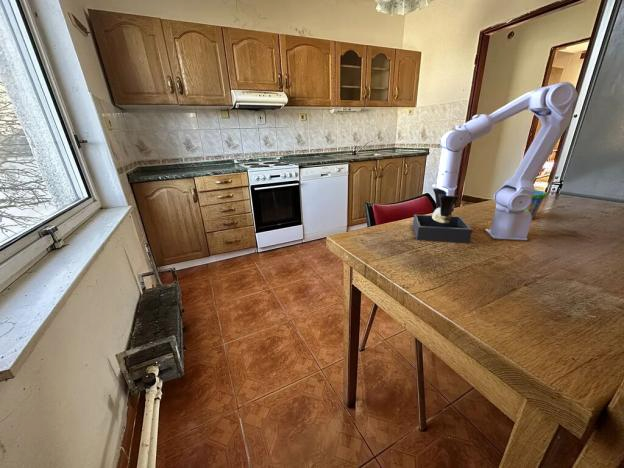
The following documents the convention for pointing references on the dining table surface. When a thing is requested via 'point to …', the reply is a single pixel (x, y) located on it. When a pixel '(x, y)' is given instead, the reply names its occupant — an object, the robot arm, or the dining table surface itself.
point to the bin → (441, 229)
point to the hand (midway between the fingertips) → (441, 212)
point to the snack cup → (536, 202)
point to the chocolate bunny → (442, 219)
